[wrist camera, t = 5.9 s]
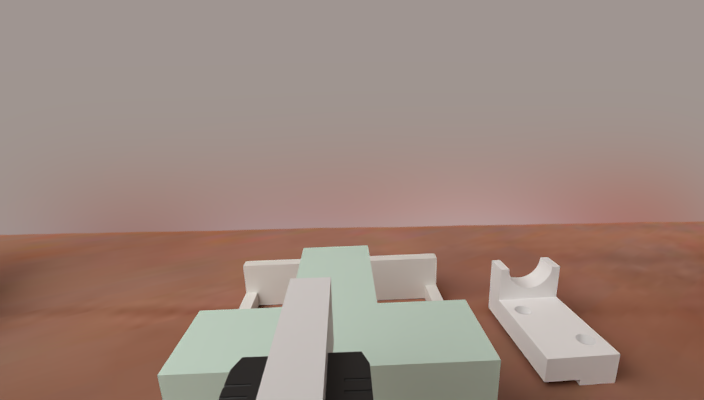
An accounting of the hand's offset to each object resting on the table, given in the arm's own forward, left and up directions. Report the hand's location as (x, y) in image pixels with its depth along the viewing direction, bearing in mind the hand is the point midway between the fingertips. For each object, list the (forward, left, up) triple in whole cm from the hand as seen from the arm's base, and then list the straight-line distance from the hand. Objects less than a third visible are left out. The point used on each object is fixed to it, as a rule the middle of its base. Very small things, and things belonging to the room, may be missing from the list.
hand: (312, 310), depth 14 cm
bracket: (-33, 0, -20) cm, 39 cm away
